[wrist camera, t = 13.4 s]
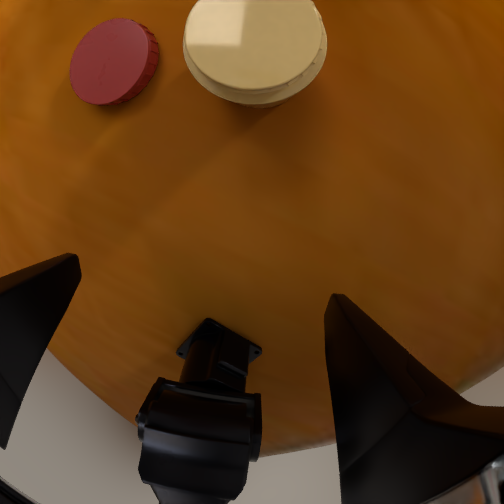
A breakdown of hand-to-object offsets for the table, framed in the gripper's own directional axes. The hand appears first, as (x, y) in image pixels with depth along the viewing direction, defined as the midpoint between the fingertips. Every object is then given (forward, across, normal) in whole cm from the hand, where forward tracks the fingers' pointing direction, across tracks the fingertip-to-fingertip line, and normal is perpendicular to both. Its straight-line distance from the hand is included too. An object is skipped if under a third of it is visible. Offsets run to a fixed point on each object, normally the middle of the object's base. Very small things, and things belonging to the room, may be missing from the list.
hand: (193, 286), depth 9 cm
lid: (+10, +10, -9) cm, 17 cm away
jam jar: (+12, -1, -9) cm, 15 cm away
